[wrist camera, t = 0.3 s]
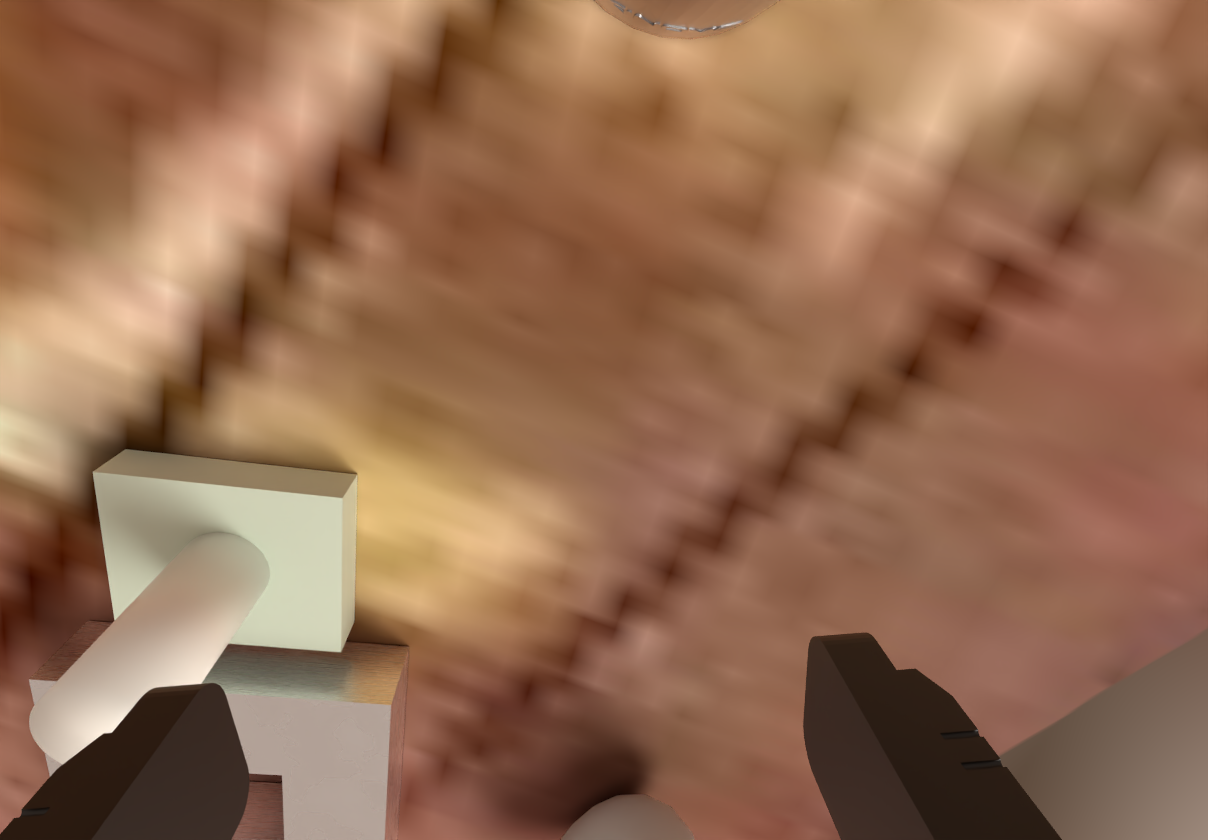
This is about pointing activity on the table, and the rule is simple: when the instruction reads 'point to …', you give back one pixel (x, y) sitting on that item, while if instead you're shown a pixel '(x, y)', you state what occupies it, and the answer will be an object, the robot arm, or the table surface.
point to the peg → (154, 642)
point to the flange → (302, 734)
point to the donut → (629, 821)
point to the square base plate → (249, 510)
